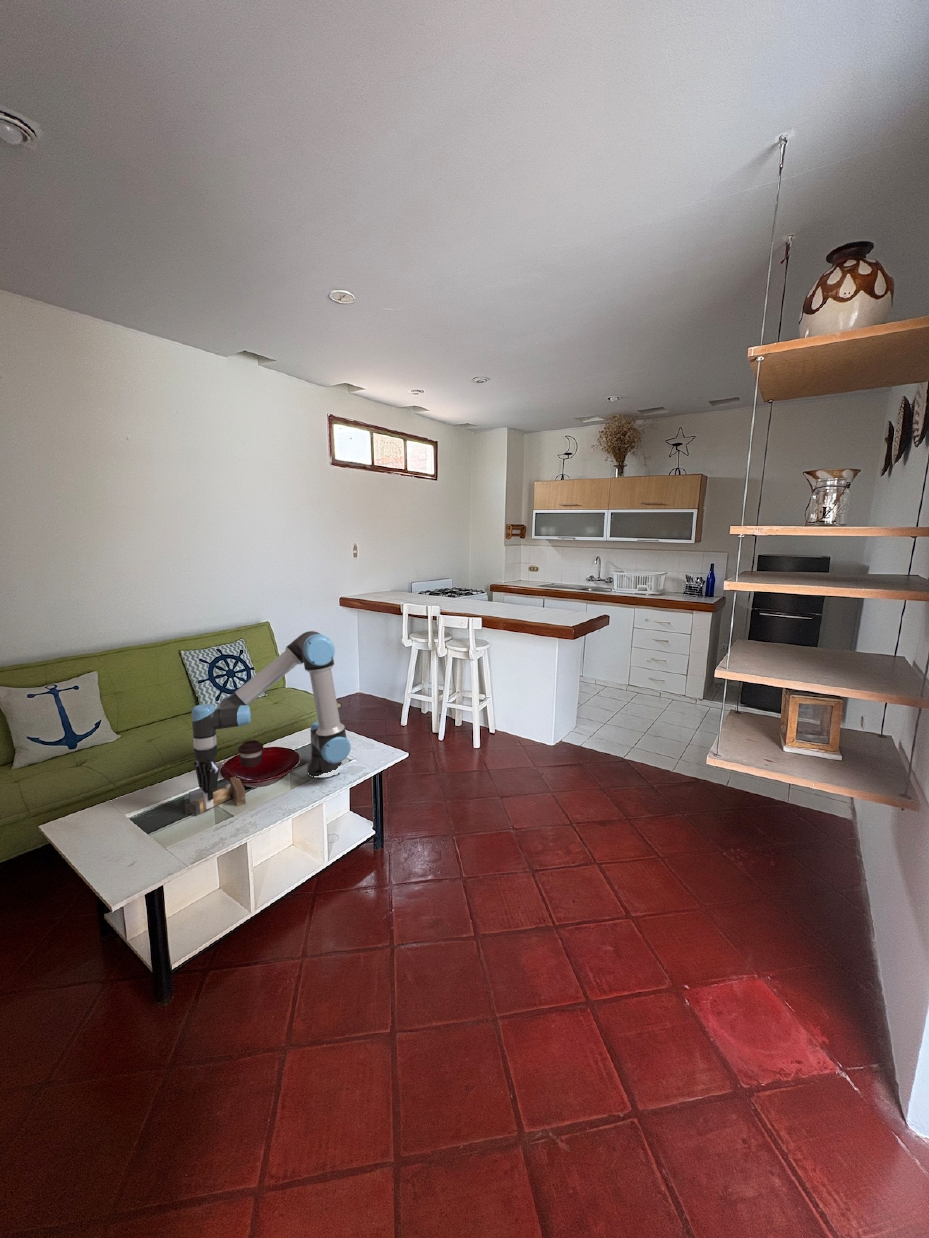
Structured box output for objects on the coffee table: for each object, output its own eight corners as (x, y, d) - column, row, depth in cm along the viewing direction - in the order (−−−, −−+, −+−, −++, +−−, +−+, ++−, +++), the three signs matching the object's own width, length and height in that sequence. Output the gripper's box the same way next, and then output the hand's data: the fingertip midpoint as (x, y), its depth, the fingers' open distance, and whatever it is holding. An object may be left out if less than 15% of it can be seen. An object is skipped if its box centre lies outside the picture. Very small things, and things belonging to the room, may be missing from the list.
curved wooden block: (238, 790, 200) (237, 775, 200) (245, 803, 189) (244, 789, 188) (230, 791, 199) (229, 777, 198) (237, 806, 187) (236, 791, 186)
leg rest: (206, 797, 194) (206, 787, 193) (208, 800, 191) (207, 790, 191) (189, 801, 190) (189, 791, 190) (190, 804, 188) (190, 794, 187)
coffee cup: (234, 777, 211) (232, 744, 210) (253, 769, 220) (252, 737, 218) (250, 782, 207) (248, 748, 205) (269, 774, 216) (268, 741, 214)
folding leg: (227, 795, 195) (227, 783, 195) (233, 797, 194) (233, 784, 193) (190, 813, 181) (189, 800, 180) (196, 815, 179) (195, 802, 179)
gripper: (225, 746, 180) (228, 807, 183) (204, 740, 187) (208, 798, 190) (205, 753, 174) (209, 816, 177) (185, 746, 181) (189, 807, 183)
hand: (209, 807), depth 183 cm, fingers closed
